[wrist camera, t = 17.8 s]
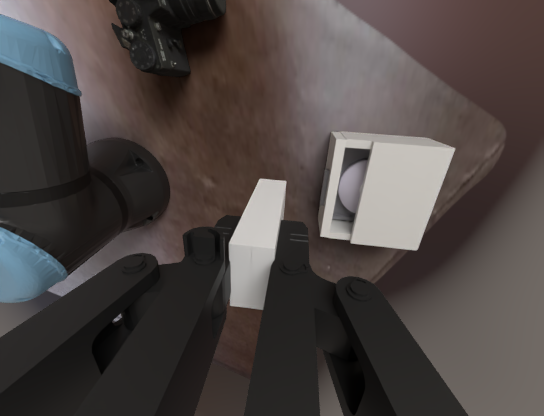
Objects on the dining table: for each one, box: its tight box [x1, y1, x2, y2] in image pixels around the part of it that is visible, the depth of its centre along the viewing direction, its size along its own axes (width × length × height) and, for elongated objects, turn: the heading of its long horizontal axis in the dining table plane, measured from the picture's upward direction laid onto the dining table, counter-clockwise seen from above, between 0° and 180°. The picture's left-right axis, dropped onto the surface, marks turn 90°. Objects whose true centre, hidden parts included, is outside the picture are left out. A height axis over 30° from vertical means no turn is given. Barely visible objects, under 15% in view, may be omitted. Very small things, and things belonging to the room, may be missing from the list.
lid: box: [338, 158, 368, 213], centre depth 35 cm, size 8×8×2 cm
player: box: [328, 131, 455, 250], centre depth 35 cm, size 12×14×7 cm
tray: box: [318, 132, 370, 237], centre depth 35 cm, size 12×14×6 cm
